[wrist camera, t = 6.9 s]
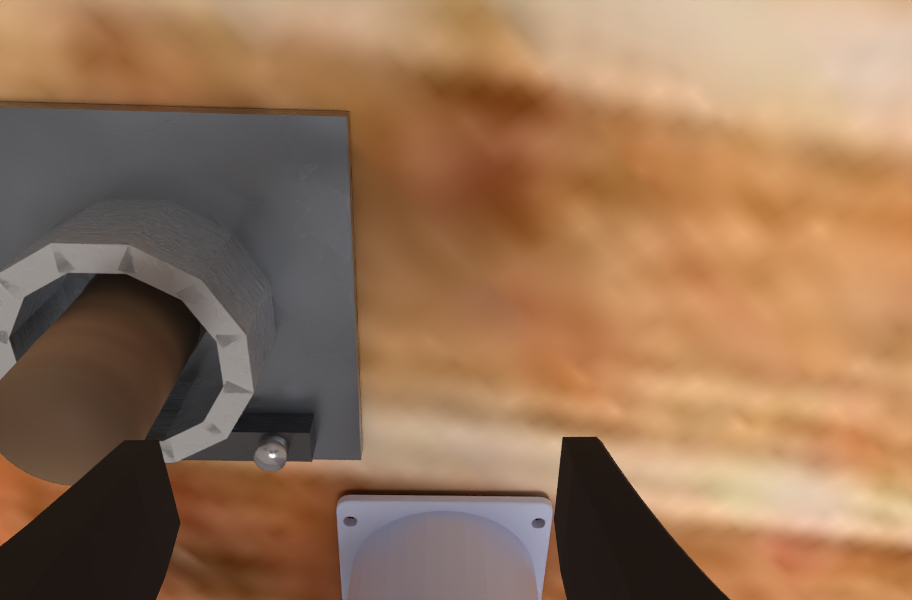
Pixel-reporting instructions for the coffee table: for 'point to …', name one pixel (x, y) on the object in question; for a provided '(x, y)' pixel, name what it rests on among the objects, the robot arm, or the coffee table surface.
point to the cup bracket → (199, 260)
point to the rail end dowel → (95, 377)
